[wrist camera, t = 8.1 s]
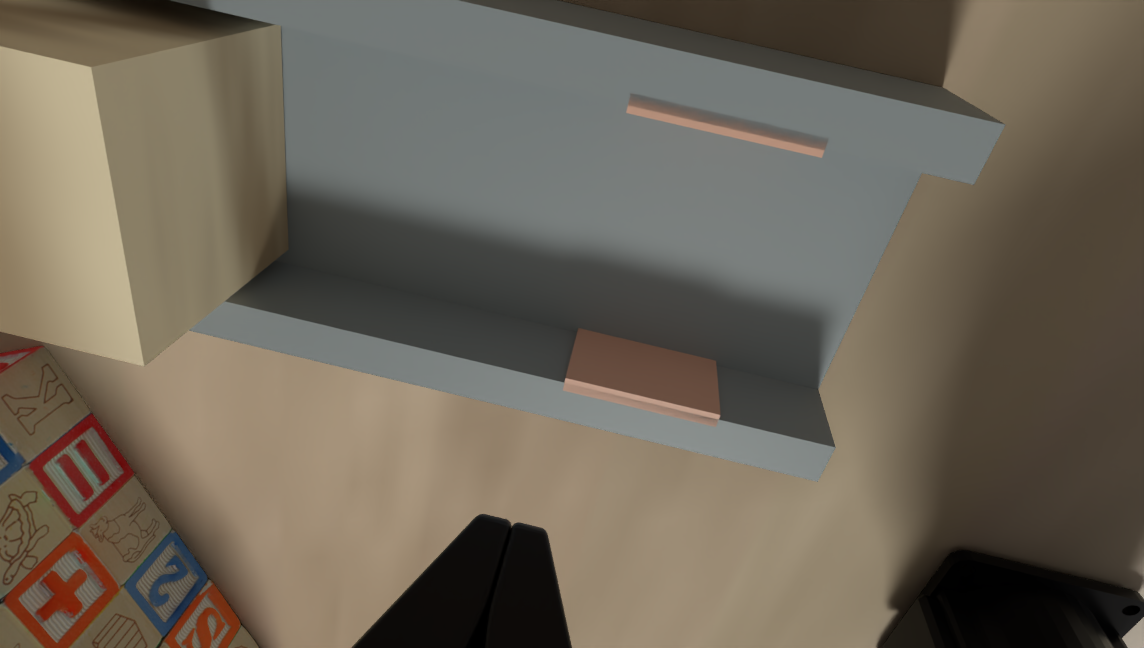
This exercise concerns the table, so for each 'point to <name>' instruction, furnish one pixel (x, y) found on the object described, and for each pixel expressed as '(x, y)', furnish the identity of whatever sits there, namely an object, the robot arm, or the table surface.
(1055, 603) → the robot arm
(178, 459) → the table surface
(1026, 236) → the table surface
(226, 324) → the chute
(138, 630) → the stack of blocks
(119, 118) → the block
